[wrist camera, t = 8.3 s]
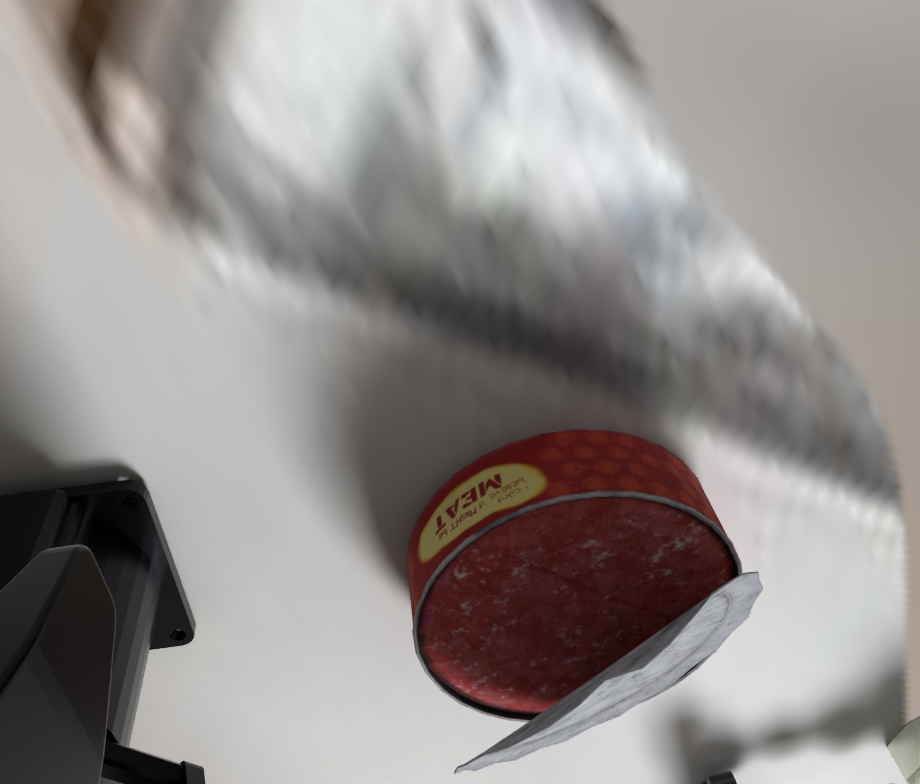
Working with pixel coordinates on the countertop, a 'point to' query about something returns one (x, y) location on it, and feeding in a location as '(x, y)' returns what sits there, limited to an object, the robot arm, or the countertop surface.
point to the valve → (911, 749)
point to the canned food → (570, 583)
